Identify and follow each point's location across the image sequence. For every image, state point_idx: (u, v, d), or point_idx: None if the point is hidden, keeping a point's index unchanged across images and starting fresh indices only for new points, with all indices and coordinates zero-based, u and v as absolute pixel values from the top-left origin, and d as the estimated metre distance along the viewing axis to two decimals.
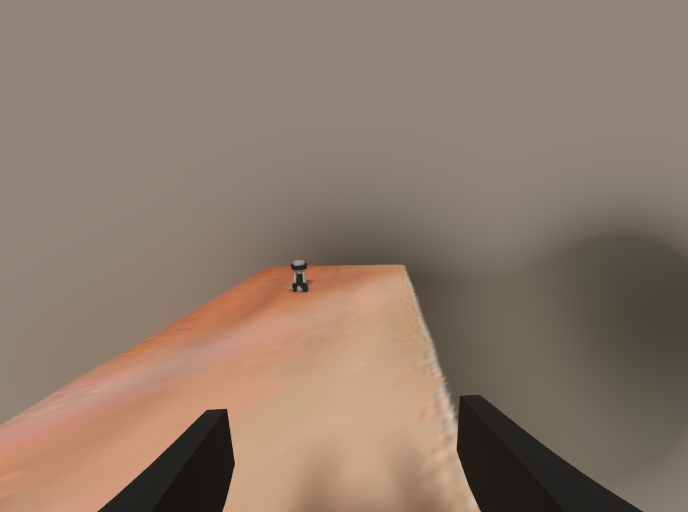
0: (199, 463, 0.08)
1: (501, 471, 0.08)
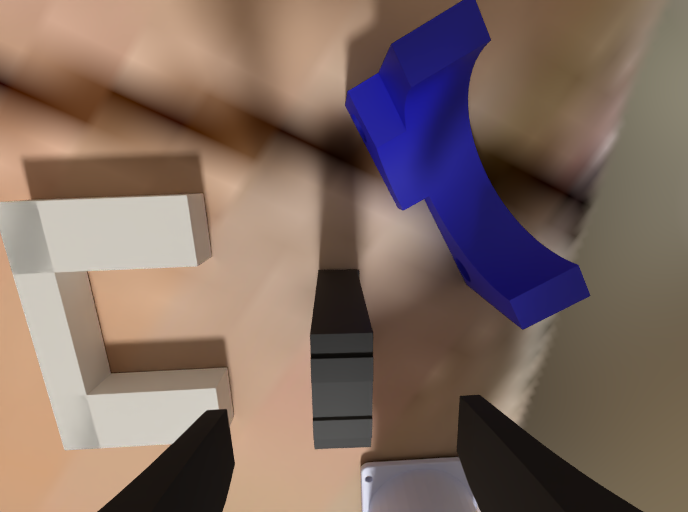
0: (200, 463, 0.08)
1: (501, 471, 0.08)
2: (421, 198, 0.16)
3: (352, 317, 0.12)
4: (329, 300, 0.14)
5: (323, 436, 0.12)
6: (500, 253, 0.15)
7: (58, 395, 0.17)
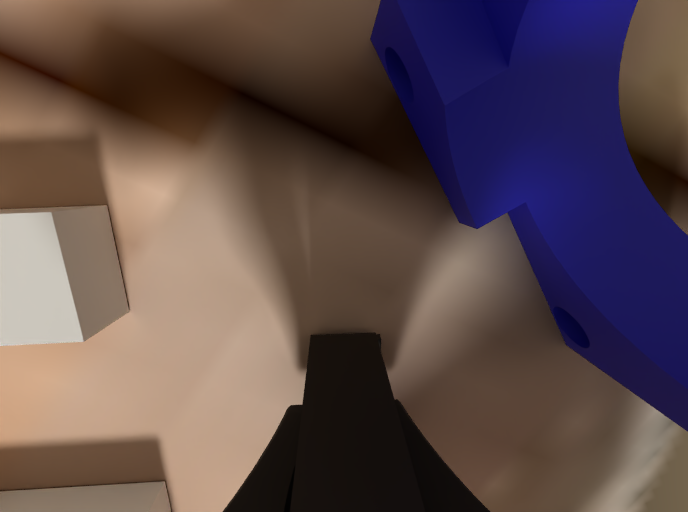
0: None
1: None
2: (511, 206, 0.09)
3: None
4: (329, 445, 0.06)
5: None
6: (681, 314, 0.08)
7: None
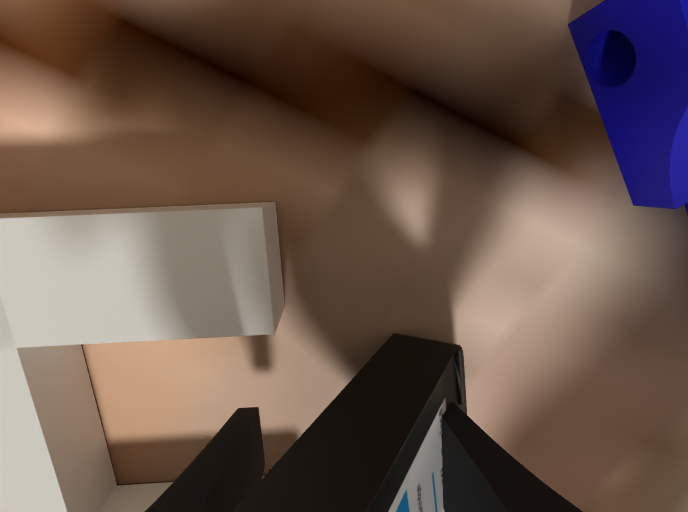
0: (238, 461, 0.08)
1: (461, 474, 0.08)
2: None
3: None
4: (331, 434, 0.07)
5: None
6: None
7: None
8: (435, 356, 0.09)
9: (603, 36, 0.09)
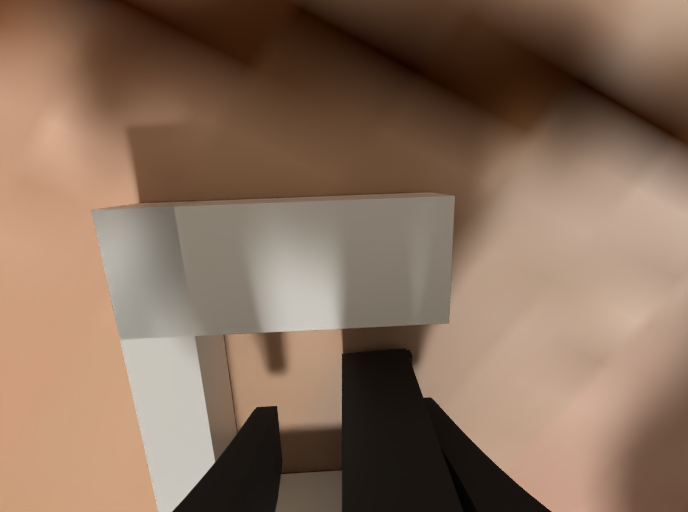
0: (261, 459, 0.08)
1: None
2: None
3: None
4: (372, 472, 0.07)
5: None
6: None
7: None
8: (397, 363, 0.10)
9: None
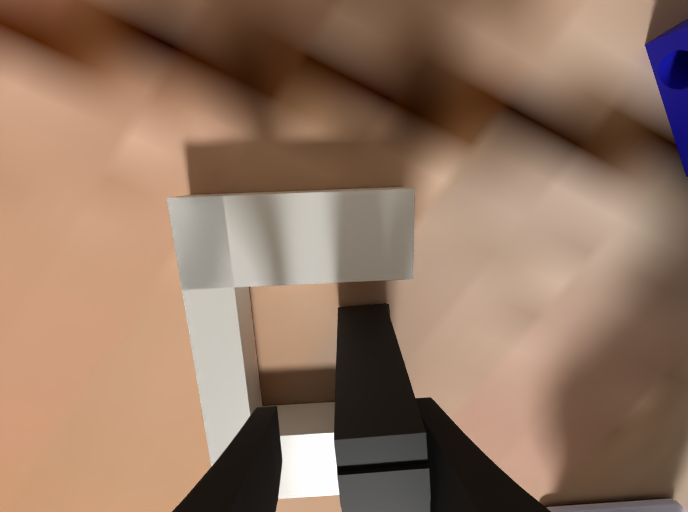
0: (261, 459, 0.08)
1: (439, 475, 0.08)
2: None
3: (391, 398, 0.09)
4: (355, 364, 0.10)
5: None
6: None
7: (218, 438, 0.14)
8: (377, 311, 0.14)
9: (672, 53, 0.13)
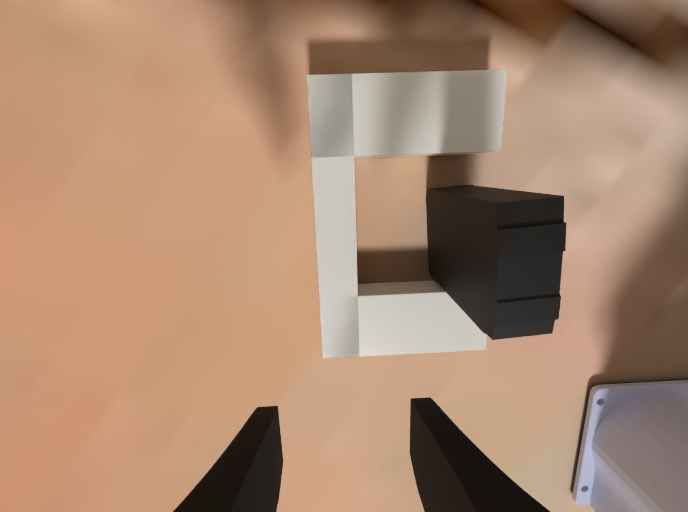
0: (262, 459, 0.08)
1: (438, 475, 0.08)
2: None
3: (522, 195, 0.11)
4: (476, 194, 0.13)
5: (507, 321, 0.11)
6: None
7: (329, 296, 0.17)
8: (466, 186, 0.16)
9: None
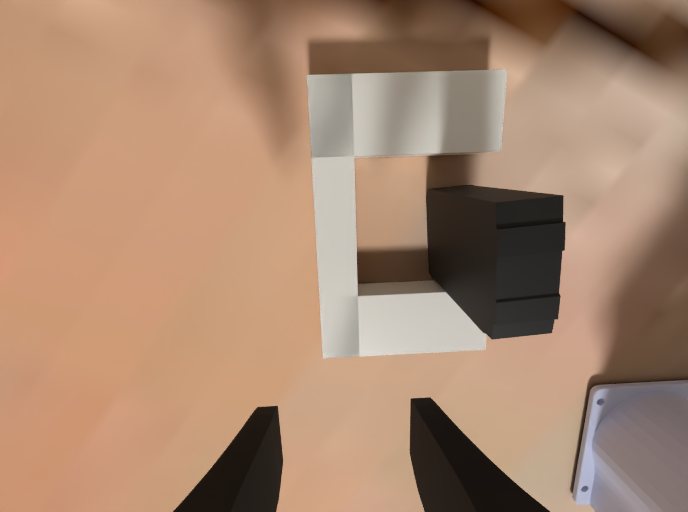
0: (262, 459, 0.08)
1: (438, 475, 0.08)
2: None
3: (522, 194, 0.11)
4: (475, 193, 0.13)
5: (507, 321, 0.11)
6: None
7: (329, 296, 0.17)
8: (466, 186, 0.16)
9: None
